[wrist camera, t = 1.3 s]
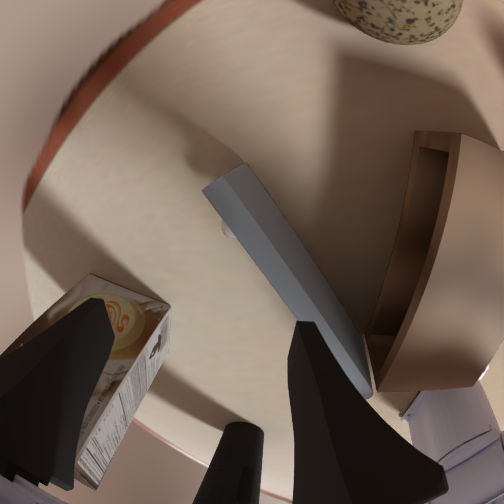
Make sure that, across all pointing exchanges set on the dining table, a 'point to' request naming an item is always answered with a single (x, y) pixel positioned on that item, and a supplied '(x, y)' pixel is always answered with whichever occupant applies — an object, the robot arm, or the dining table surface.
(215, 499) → the drinking cup
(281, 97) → the dining table surface
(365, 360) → the cabinet door
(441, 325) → the cabinet
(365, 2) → the decorative egg
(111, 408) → the coffee box
